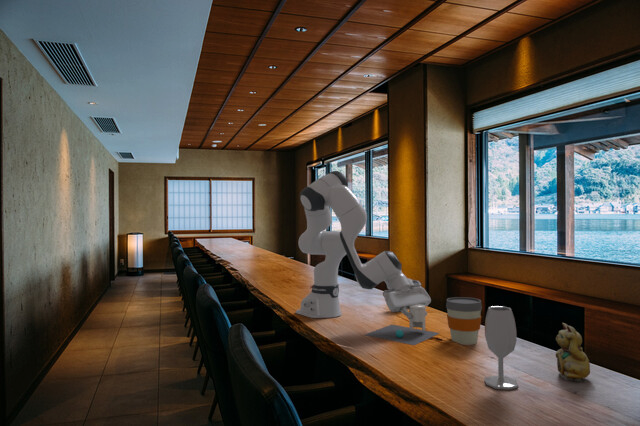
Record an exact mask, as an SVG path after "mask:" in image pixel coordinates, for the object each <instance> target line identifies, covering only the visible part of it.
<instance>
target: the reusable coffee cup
mask: <svg viewBox="0 0 640 426" xmlns="http://www.w3.org/2000/svg"><path fill="white" fill-rule="evenodd" d="M482 305H483V304H482V300H481V299H479V298H475V297H467V296H466V297H465V296H463V297H462V296H460V297H459V296H455V297H447V299H446V303H445V307H446V310H447V314H446V318H447V325H448V328H449V331H450V338H451V339H450V340H451V341H452V342H454V343H457V344H458V345H462V346H463V345H465V346H472V345H476V344H477V343H478V340H479V331H480V330H481V324H482V315H481V312H482V310H483V306H482Z"/></svg>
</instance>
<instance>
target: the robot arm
mask: <svg viewBox="0 0 640 426" xmlns="http://www.w3.org/2000/svg"><path fill="white" fill-rule="evenodd" d="M348 182H349V181H348V179H347V177H346V176H345V174H343V173H342V172H341V171H339V170H333V171H331V172H327V174H325V175H322V176H321V177H319V178H317V179H316V180H314V181H313V182H311V184H309V185H307V186H305V187H304V188H303V189H302V190H301V191H300V193H299V201H300V204H301V205H302V206H303V209H304V214H305V218H306V224H307V228H306V230H305V231H304V232H303V233H301V235H300V236H299V238H298V241H297V242H298V248H299V250H300V251H301V252H302V253H303V254H308V255H315V256H318V255H319V256H321V255H322V256H325V259H324V261H322V262H319V263H318V264H316V265H315V267H314V268H313V284H312V285H311V286H309V289H311V291H310V292H309V293H308V294H307V295H306V296H305V297H304V298H303V299H302V300H301V302H300V308H299V309H297V310H296V311H295V314H297V315H301V316H304V317H308V318H311V319H323V318H325V319H327V318H330V319H331V318H336V317H339V316H342V311H341V306H340V305H341V304H340V300H339V299H340V298H339V292H340V288H339V286H340V285H339V282H338V280H339V279H338V278H339V266H340V263H341V261H342V259H343V258H344V257H345V256H347V258H348V261H349V262H350V265H351V267H352V269H353V272H354V276H355V280H356V282H357V283H358V285H359V286H360V287H361V288H362V289H364V290H373V289H374V288H375V287H377V286H378V285H379V284H380V283H382V282H385V285H386V288H387V289H385V290H383V292H382V297H384V301H385V303H386V306H387V307H388V310H389V311H390V312H392V313H396V312H400V311H401V312H400V313H401V314H402V315H404V316H405V317H406V318H407V319H408V320H409V319H412V318H413V315H412V313H409V311H408V310H409V306H411V305H417V304H420V305H424V306H425V307H427V306H429V304H431V302H432V299H431V297H430V295H429V294H428V292H427V290H426V289H425V288H424V287H423V286H422V283H421V282H420V281H419V280H415V279H411V278H409V277H407V275H405V274H404V273H403V271H402V266H403V265H402V263H401V262H400V261H399V259H398V257H397V254H396V253H395V252H394V251H390V250H384V251H382V252H381V253H379V254H377V255H376V256H375V257H373V258H371V259H370V260H369V261H366V262H365V263H362V261H361V259H360V257H359V255H358V252H357V250H356V247H355V241H356V239H357V237H358V236H359V234H360V233H361V232H362V231H363V229H364V227H365V226H366V224H367V220H368V214H367V212H366V209H365V208H364V206H363V204H362V203H361V201H360V200H359V199H358V197H357V196H356V195H355V194H354V192H353V191H352V190H351V189H350V188H349V186H348V184H349V183H348ZM331 210H332V211H333V213H334V214H335V216H336V218H337V219H338V221H339V223H340V224H339V225H340V227H341V228H340V229H341V230H339V231H338V230H336V231H335V230H332V231H330V230H329V231H327V229H328V228H329V227H330V226H331V225H332V221H333V217H332V213H331ZM427 316H428V312H427V311H426V308H425V317H427Z"/></svg>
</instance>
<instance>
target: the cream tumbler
mask: <svg viewBox="0 0 640 426" xmlns="http://www.w3.org/2000/svg"><path fill="white" fill-rule="evenodd" d="M425 309H426V306H424V305H420V304H417V305H411V306H409V309H408V310H409V311H408V312H409V313H412V315H413V318H412V319H408V320H409V322H408V323H409V328H410V330H413V328H414V329H416V328H418V329H421V330H423V331H424V330H425V331H426V316H425Z"/></svg>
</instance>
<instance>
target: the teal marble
mask: <svg viewBox="0 0 640 426" xmlns="http://www.w3.org/2000/svg"><path fill="white" fill-rule="evenodd" d="M403 335H404V333H403V331H402V330H397V331H396V336H397V337H398V338H402V337H403Z"/></svg>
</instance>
